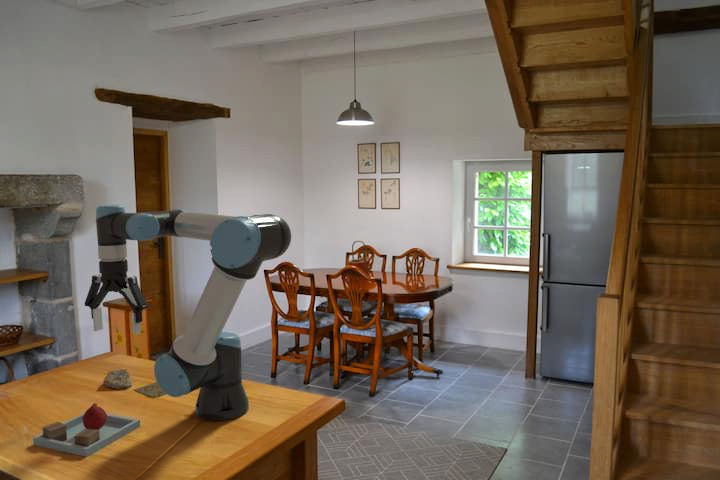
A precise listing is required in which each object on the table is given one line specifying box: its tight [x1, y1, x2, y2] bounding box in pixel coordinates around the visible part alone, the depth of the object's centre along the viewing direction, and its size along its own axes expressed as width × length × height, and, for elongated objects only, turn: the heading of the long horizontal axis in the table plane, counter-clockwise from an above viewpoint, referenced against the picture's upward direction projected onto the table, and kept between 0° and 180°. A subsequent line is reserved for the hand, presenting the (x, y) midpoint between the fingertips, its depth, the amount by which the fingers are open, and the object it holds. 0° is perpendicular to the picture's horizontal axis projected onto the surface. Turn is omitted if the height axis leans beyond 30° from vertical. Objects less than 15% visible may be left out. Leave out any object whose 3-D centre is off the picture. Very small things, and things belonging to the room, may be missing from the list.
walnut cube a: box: [74, 429, 100, 447], centre depth 143 cm, size 4×4×4 cm
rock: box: [103, 368, 133, 390], centre depth 188 cm, size 9×6×10 cm
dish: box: [32, 412, 141, 458], centre depth 150 cm, size 18×18×2 cm
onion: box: [83, 402, 108, 430], centre depth 152 cm, size 6×6×8 cm
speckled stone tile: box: [133, 381, 167, 400], centre depth 185 cm, size 12×12×1 cm
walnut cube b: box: [42, 421, 67, 442], centre depth 147 cm, size 4×4×4 cm
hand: (117, 331), depth 165 cm, fingers open, 13 cm apart
